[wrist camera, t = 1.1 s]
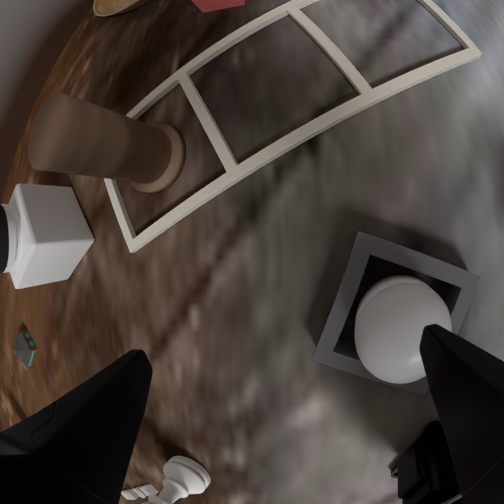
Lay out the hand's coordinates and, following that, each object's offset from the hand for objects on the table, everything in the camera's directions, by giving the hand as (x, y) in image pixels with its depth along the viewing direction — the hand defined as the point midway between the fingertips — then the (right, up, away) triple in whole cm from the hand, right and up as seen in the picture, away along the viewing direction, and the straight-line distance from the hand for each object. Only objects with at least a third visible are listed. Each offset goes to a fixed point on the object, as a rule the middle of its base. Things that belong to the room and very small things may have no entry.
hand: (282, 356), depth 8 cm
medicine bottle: (-20, +5, +18) cm, 27 cm away
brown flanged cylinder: (-8, +11, +13) cm, 19 cm away
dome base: (+8, -1, +8) cm, 11 cm away
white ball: (+8, -1, +7) cm, 10 cm away
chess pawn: (-7, -20, +16) cm, 27 cm away
